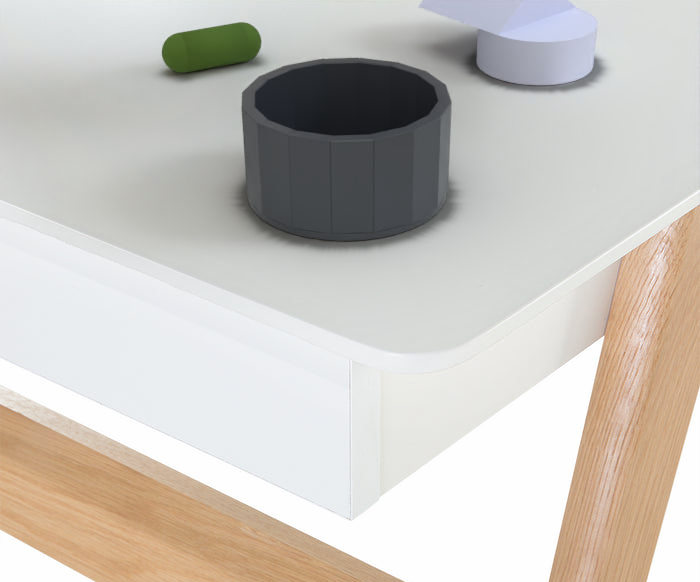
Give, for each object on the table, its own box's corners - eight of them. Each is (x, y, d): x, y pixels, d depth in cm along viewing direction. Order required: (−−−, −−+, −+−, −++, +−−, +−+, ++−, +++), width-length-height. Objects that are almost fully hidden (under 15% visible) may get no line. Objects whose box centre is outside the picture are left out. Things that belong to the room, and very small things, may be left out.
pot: (296, 259, 71) (292, 157, 68) (218, 172, 81) (211, 78, 77) (483, 213, 76) (489, 114, 72) (389, 135, 85) (390, 45, 82)
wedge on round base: (417, 48, 99) (539, 95, 91) (418, -36, 95) (546, 5, 87) (494, 21, 104) (616, 63, 96) (498, -60, 100) (627, -23, 92)
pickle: (171, 81, 94) (167, 43, 92) (158, 68, 96) (154, 30, 94) (268, 63, 97) (266, 26, 95) (253, 51, 99) (251, 14, 97)
